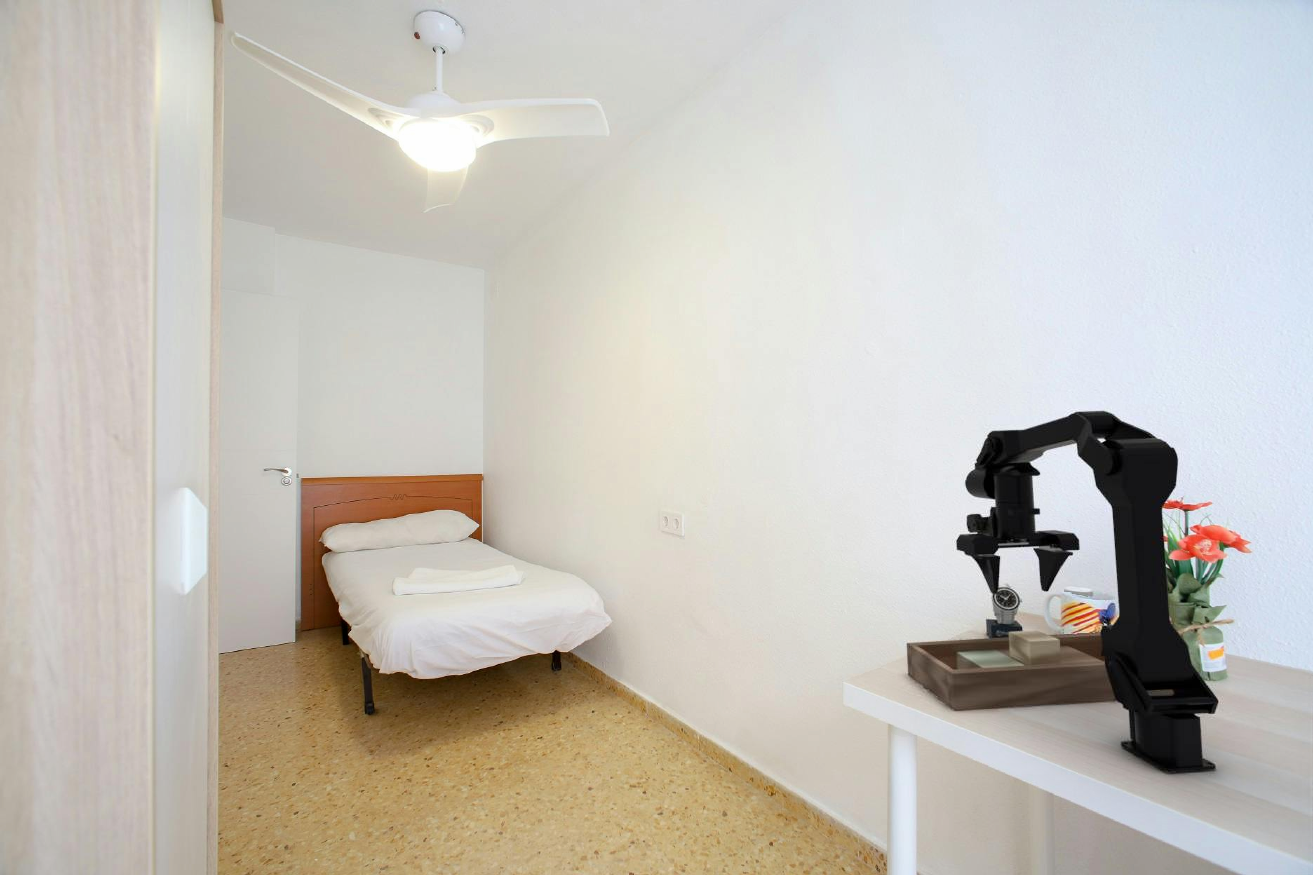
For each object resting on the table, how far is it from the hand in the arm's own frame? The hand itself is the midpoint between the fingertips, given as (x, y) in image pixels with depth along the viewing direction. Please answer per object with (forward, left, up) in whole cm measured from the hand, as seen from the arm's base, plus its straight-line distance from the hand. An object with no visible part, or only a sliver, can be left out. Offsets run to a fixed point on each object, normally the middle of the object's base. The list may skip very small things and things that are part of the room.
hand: (1019, 592), depth 98 cm
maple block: (-5, +1, -10) cm, 11 cm away
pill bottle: (+15, -23, -14) cm, 31 cm away
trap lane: (-5, +1, -14) cm, 15 cm away
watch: (+17, -9, -14) cm, 24 cm away
